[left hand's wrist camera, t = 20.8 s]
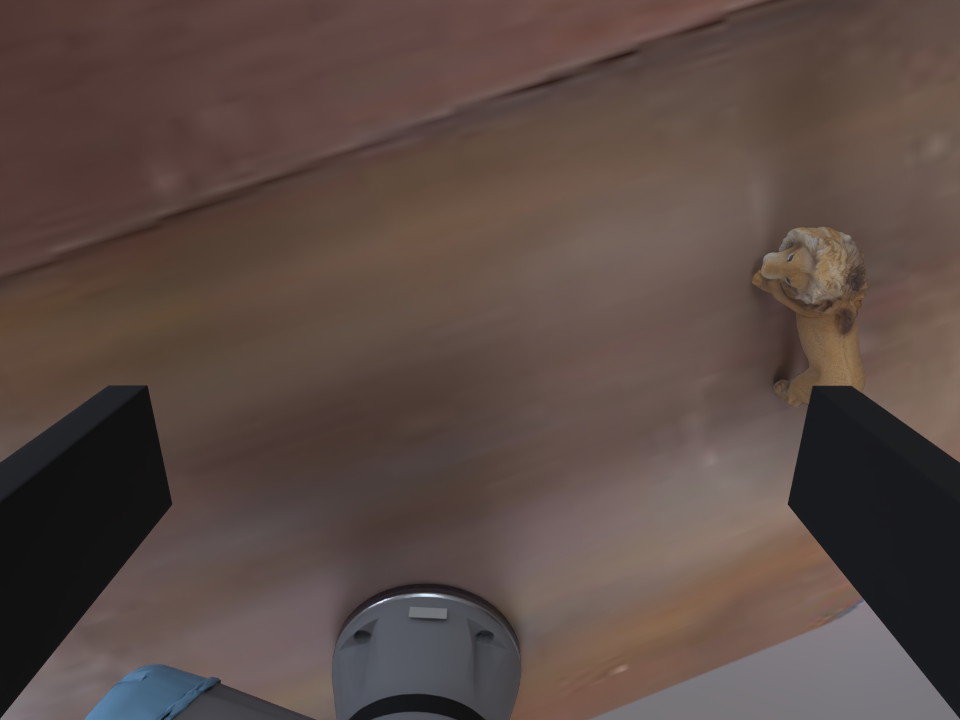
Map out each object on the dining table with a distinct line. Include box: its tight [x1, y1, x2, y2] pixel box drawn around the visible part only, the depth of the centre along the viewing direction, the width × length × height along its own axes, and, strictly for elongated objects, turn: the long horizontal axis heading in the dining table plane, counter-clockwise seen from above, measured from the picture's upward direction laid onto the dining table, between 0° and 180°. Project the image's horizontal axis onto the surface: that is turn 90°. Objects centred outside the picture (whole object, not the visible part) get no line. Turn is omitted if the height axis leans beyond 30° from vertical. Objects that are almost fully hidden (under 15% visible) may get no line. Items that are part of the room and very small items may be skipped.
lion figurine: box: [752, 227, 868, 407], centre depth 37 cm, size 15×5×9 cm, turn 27°
